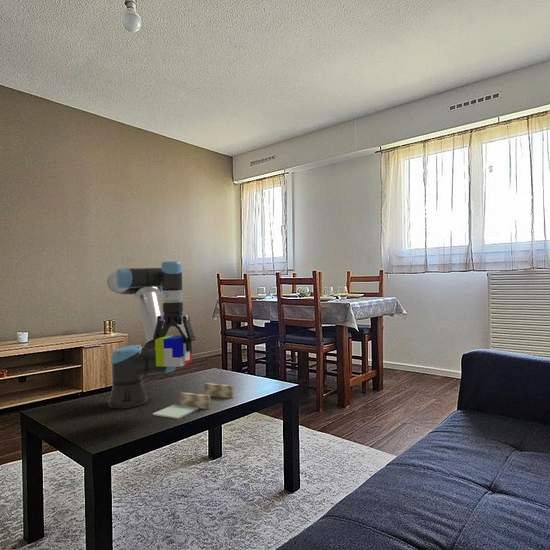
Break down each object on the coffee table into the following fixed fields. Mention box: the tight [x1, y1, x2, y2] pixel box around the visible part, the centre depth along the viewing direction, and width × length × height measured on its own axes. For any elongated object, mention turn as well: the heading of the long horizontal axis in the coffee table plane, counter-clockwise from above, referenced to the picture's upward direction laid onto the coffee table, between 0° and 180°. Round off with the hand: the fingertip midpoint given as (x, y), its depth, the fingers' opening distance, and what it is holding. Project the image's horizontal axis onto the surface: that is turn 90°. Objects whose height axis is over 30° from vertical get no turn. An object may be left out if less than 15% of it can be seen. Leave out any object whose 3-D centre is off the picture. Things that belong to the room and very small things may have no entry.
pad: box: [152, 404, 199, 420], centre depth 157 cm, size 12×12×1 cm
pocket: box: [179, 382, 234, 410], centre depth 170 cm, size 14×17×5 cm
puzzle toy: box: [155, 335, 193, 368], centre depth 158 cm, size 10×10×10 cm
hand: (174, 359), depth 158 cm, fingers closed on puzzle toy, 11 cm apart
